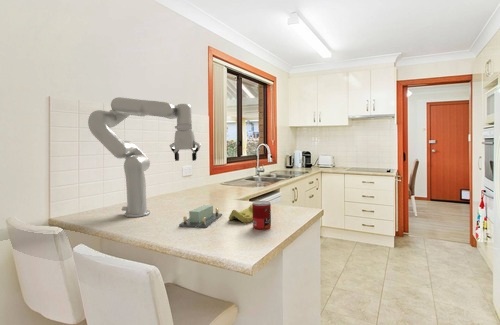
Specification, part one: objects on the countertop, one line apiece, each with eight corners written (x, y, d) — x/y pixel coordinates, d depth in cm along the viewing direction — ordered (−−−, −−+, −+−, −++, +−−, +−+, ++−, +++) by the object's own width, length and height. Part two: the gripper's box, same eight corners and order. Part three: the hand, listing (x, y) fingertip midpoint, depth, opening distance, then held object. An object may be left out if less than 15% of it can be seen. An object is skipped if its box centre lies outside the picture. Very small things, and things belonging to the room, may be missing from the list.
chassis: (179, 226, 132) (178, 217, 132) (198, 214, 154) (198, 207, 154) (206, 227, 129) (206, 218, 129) (222, 215, 151) (221, 207, 151)
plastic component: (247, 219, 134) (231, 207, 138) (242, 232, 136) (227, 220, 141) (270, 207, 149) (255, 197, 154) (266, 219, 152) (251, 209, 157)
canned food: (268, 230, 123) (267, 204, 122) (250, 229, 126) (249, 203, 125) (273, 225, 130) (272, 201, 130) (256, 224, 133) (255, 200, 132)
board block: (189, 222, 136) (189, 211, 136) (204, 214, 149) (204, 205, 149) (199, 222, 134) (198, 211, 134) (213, 215, 147) (212, 205, 147)
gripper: (165, 128, 153) (167, 161, 154) (197, 127, 149) (198, 160, 150) (172, 128, 160) (173, 160, 161) (202, 127, 156) (203, 160, 157)
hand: (185, 160), depth 155 cm, fingers open, 9 cm apart
